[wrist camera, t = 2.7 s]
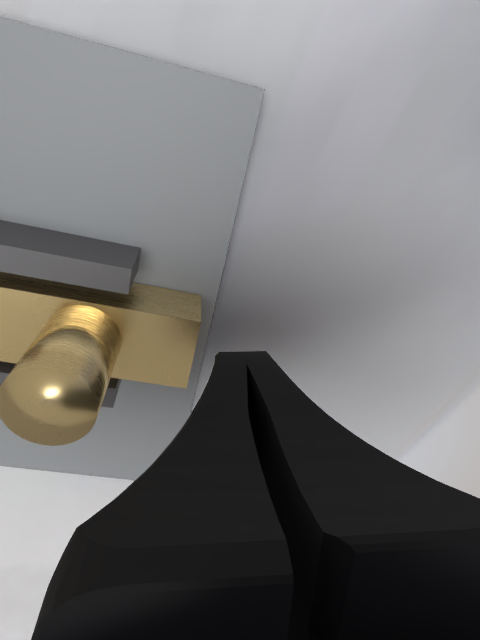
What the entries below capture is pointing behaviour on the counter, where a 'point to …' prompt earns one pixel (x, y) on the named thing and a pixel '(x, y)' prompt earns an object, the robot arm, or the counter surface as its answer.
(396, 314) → the counter surface
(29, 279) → the bolt
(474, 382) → the counter surface
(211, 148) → the door slab
